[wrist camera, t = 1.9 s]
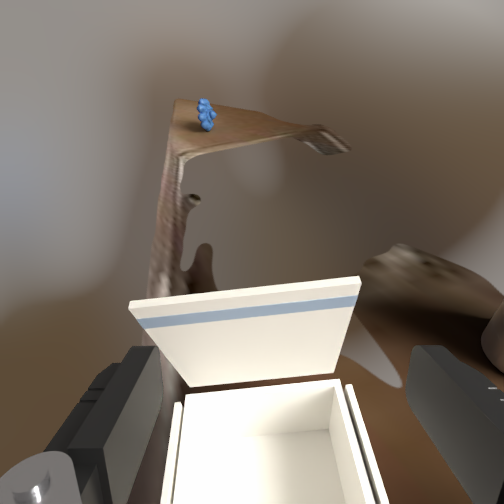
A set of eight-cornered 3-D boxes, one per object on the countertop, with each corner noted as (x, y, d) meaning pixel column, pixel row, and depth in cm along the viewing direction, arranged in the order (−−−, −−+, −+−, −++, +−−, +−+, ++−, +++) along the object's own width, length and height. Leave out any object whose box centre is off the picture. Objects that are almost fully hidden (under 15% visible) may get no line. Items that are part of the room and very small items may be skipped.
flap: (190, 381, 28) (130, 300, 17) (332, 366, 28) (358, 275, 17) (189, 387, 28) (128, 309, 17) (333, 372, 27) (361, 283, 17)
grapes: (215, 136, 114) (208, 101, 106) (198, 136, 115) (190, 102, 107) (223, 125, 122) (218, 92, 115) (207, 126, 124) (201, 94, 116)
